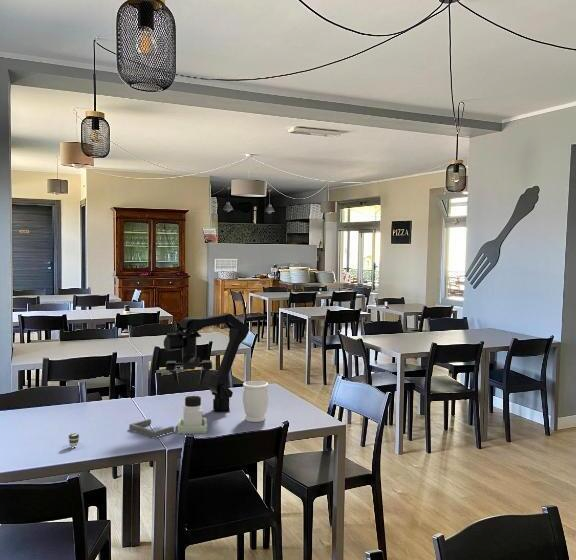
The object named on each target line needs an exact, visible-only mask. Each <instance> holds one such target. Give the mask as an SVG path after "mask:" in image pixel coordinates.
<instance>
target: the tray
mask: <svg viewBox="0 0 576 560" xmlns="http://www.w3.org/2000/svg"><path fill="white" fill-rule="evenodd" d="M207 418H208V417H202V426H183V418H178V421H177V434H178V433H183V434H202V433H203V434H206V433H208V419H207ZM183 434H182V435H183Z"/></svg>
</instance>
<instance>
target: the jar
mask: <svg viewBox="0 0 576 560" xmlns="http://www.w3.org/2000/svg"><path fill="white" fill-rule="evenodd" d="M242 387H243V393H242V402H243V410H244V413H245V415H246V416H245V418H244V420H245V421H247V422H250V423H259V422H263V421H266V418H267V417H266V416H265V415H266V414H267V411H268V404H269V390H268V387H269V382H266V381H262V380H248V381H245V382H243V383H242Z"/></svg>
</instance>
